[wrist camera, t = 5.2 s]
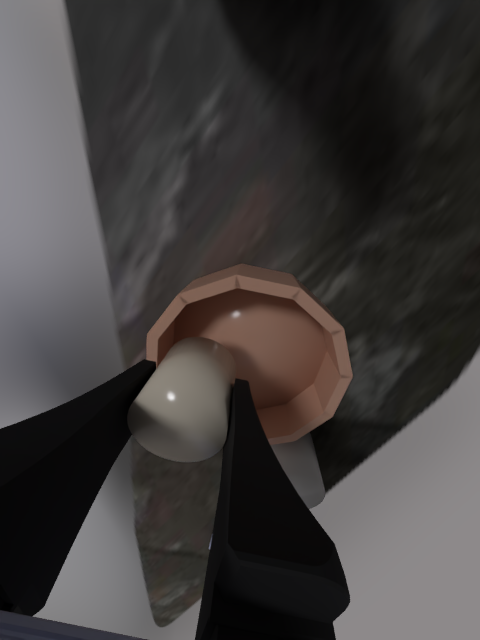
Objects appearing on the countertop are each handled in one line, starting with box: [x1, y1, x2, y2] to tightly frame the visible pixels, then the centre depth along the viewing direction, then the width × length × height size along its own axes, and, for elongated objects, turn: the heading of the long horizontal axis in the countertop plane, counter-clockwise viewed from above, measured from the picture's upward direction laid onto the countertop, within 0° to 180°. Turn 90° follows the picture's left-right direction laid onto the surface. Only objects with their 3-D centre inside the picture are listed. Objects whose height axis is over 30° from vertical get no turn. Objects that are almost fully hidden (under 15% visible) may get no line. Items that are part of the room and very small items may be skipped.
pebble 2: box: [271, 432, 325, 509], centre depth 17 cm, size 4×4×4 cm
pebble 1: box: [127, 337, 236, 462], centre depth 11 cm, size 4×4×4 cm
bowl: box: [147, 264, 353, 445], centre depth 14 cm, size 11×11×3 cm
